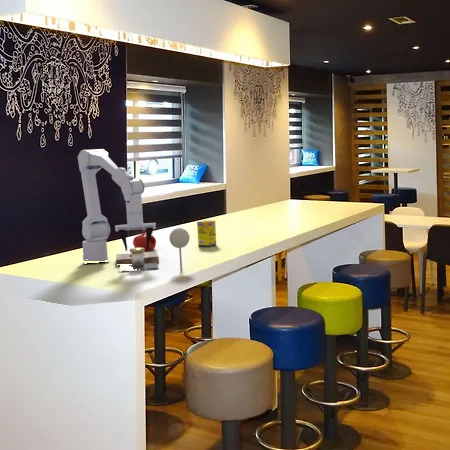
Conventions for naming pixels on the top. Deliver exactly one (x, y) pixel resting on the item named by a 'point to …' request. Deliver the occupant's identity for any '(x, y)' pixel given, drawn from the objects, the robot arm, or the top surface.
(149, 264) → the mat
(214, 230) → the supplement box
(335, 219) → the top surface
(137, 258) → the gold rounded piece
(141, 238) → the pomegranate
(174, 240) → the lollipop
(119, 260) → the housing
